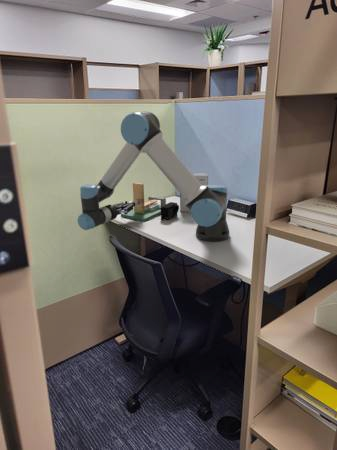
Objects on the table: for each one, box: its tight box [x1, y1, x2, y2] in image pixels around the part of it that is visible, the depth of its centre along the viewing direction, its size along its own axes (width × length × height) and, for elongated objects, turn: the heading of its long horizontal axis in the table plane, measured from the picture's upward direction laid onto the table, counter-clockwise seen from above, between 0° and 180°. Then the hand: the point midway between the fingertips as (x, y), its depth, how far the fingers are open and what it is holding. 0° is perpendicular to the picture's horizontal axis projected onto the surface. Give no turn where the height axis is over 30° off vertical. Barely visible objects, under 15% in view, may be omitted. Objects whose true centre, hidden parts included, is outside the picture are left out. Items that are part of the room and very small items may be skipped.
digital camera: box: [160, 201, 180, 222], centre depth 182 cm, size 10×5×7 cm, turn 151°
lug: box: [148, 195, 167, 207], centre depth 198 cm, size 3×10×5 cm, turn 57°
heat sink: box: [144, 202, 160, 212], centre depth 193 cm, size 8×8×3 cm
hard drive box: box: [179, 173, 209, 212], centre depth 192 cm, size 16×8×20 cm, turn 84°
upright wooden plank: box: [132, 182, 158, 214], centre depth 188 cm, size 15×6×16 cm, turn 147°
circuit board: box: [120, 204, 161, 222], centre depth 191 cm, size 25×16×2 cm, turn 147°
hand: (136, 202), depth 183 cm, fingers closed
